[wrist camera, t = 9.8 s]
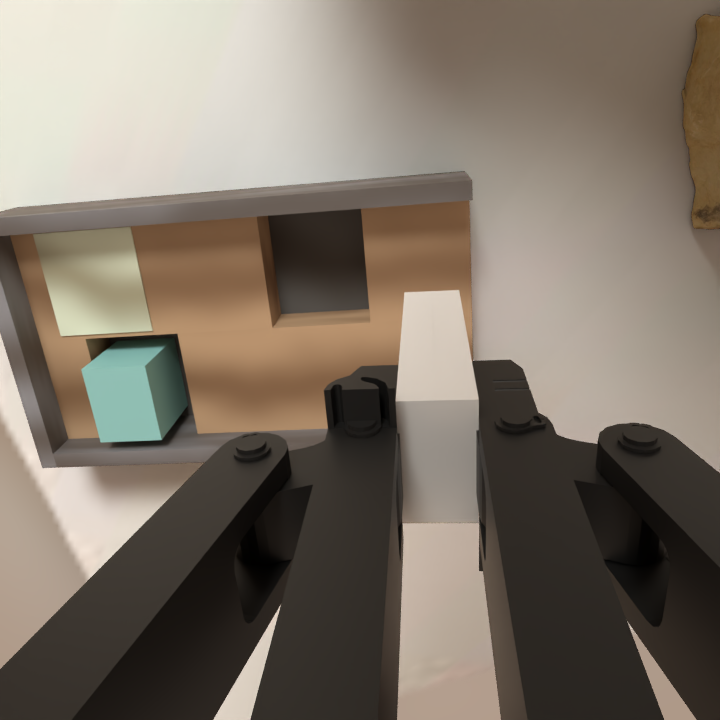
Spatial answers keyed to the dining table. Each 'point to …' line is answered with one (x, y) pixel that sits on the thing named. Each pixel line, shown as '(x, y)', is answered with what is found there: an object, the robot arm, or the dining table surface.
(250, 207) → the trap board
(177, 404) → the block
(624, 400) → the dining table surface
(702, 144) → the rock
